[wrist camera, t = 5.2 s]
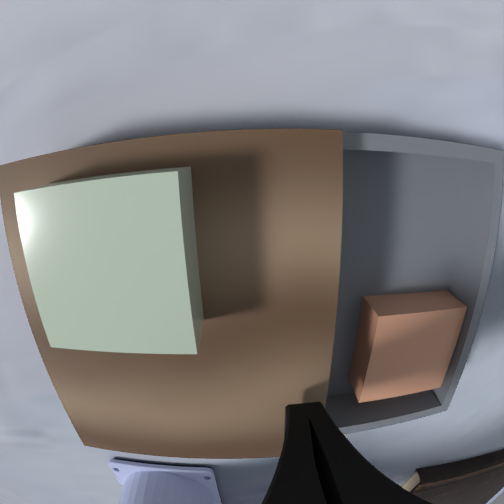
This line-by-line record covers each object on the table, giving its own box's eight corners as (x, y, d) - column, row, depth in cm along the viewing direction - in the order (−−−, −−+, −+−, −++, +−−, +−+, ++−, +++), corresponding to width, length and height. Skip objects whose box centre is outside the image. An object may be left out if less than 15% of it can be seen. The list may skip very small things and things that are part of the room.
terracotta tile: (358, 402, 14) (348, 378, 16) (440, 387, 14) (425, 366, 16) (378, 316, 13) (363, 296, 15) (467, 307, 13) (446, 290, 15)
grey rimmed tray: (426, 380, 17) (446, 410, 14) (305, 399, 17) (314, 438, 14) (465, 147, 13) (503, 150, 10) (314, 134, 13) (333, 131, 10)
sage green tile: (203, 319, 11) (197, 354, 9) (74, 318, 11) (50, 346, 9) (191, 166, 9) (178, 171, 7) (48, 183, 9) (13, 193, 7)
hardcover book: (467, 505, 29) (472, 515, 26) (341, 534, 26) (344, 548, 24) (533, 435, 24) (541, 445, 22) (414, 464, 22) (423, 482, 19)
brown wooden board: (305, 399, 17) (317, 452, 13) (105, 398, 17) (84, 445, 13) (314, 134, 13) (342, 130, 9) (49, 158, 13) (-3, 166, 9)
